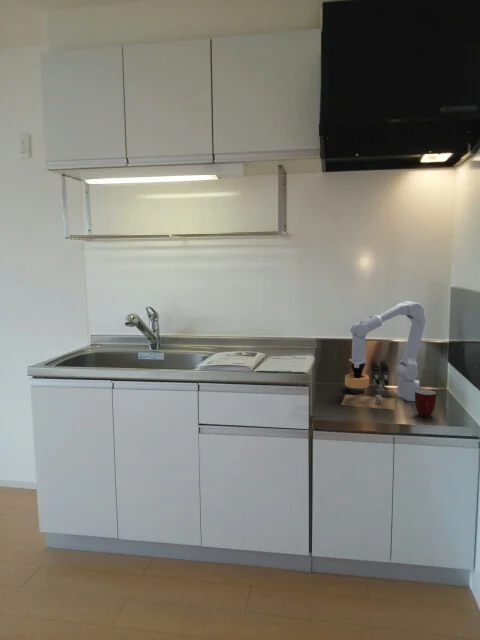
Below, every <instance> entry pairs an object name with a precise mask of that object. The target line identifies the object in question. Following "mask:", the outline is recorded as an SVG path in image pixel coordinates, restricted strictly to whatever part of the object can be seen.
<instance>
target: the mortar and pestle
mask: <svg viewBox="0 0 480 640" xmlns="http://www.w3.org/2000/svg"><path fill="white" fill-rule="evenodd" d="M366 388H367V387H366ZM366 388H350V387H347V389H348V390H349V392H351V393H352V394H362V393H363V392H364V391H365V390H366Z"/></svg>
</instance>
